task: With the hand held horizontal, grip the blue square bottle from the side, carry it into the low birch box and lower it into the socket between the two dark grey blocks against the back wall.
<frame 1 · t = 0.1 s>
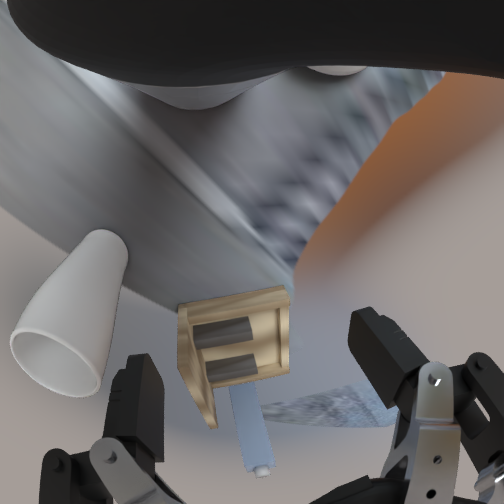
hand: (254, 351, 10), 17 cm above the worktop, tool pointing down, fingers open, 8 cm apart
flower in vase: (325, 32, 18), on the worktop
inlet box: (238, 337, 33), on the worktop
drinking glass: (105, 250, 25), on the worktop
blue square bottle: (242, 390, 40), on the worktop
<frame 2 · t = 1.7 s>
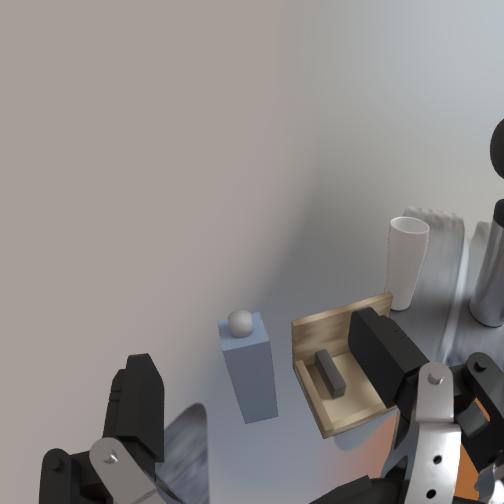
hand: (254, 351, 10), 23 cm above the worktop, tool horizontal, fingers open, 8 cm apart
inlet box: (356, 383, 30), on the worktop
drinking glass: (396, 303, 43), on the worktop
blue square bottle: (258, 407, 29), on the worktop
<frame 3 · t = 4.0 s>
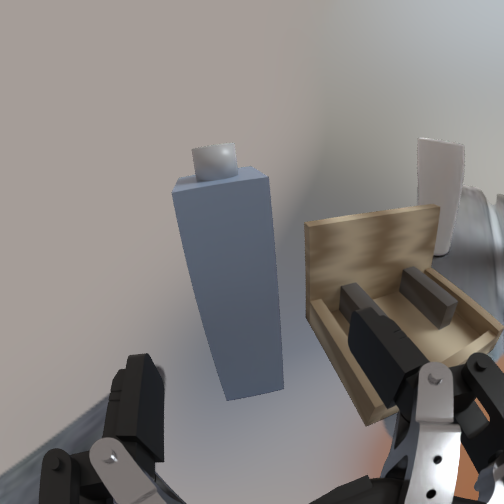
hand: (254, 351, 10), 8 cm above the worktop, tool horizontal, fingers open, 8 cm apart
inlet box: (405, 336, 19), on the worktop
drinking glass: (432, 250, 32), on the worktop
blue square bottle: (250, 374, 18), on the worktop
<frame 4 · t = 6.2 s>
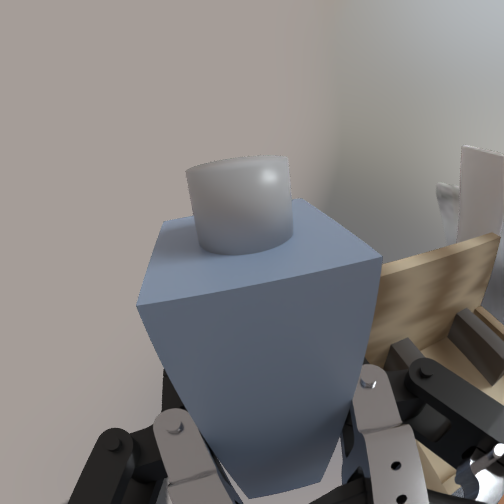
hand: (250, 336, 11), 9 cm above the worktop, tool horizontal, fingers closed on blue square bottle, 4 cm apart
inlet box: (456, 397, 12), on the worktop
drinking glass: (468, 274, 25), on the worktop
blue square bottle: (276, 464, 12), on the worktop, touching gripper
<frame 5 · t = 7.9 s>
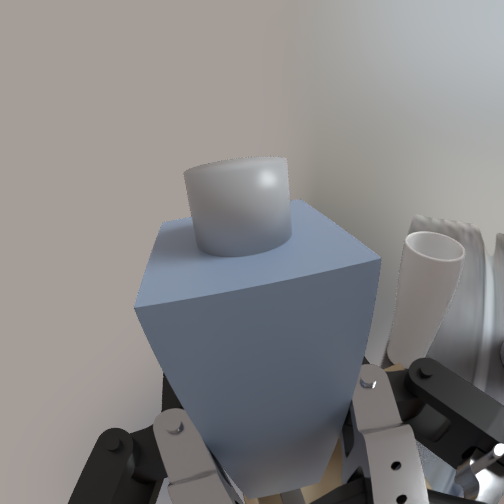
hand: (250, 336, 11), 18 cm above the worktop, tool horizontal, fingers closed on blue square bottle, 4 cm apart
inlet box: (331, 492, 15), on the worktop
drinking glass: (404, 356, 28), on the worktop
blue square bottle: (276, 464, 12), point 9 cm above the worktop, touching gripper
when the fingers open (10 cm above the worktop, at t = 10.0 s): blue square bottle stays where it is, resting on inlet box.
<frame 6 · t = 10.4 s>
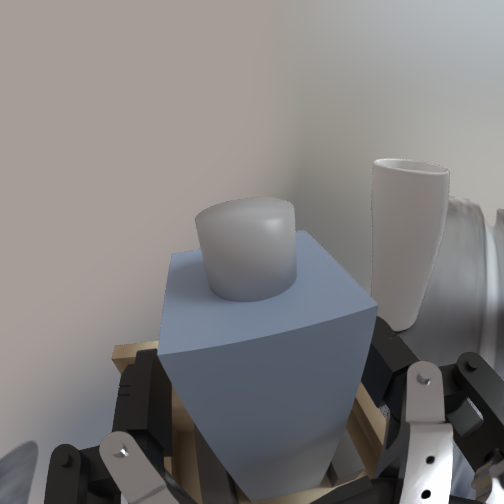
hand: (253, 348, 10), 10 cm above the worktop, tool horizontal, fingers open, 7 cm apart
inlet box: (281, 484, 12), on the worktop
drinking glass: (391, 318, 24), on the worktop
blue square bottle: (278, 468, 12), point 1 cm above the worktop, touching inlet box
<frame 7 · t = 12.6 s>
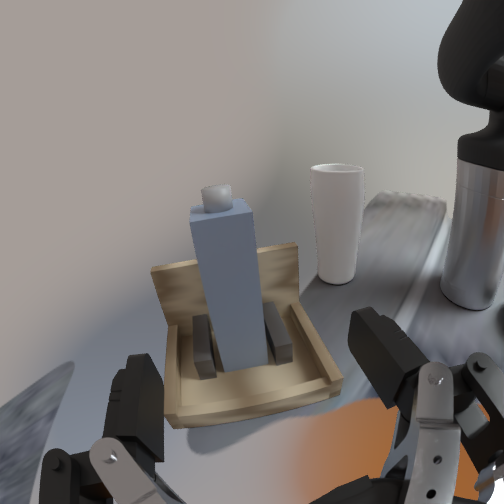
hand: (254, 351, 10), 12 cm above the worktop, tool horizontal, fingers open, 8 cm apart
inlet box: (245, 366, 24), on the worktop
drinking glass: (336, 277, 37), on the worktop
blue square bottle: (243, 353, 25), point 1 cm above the worktop, touching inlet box
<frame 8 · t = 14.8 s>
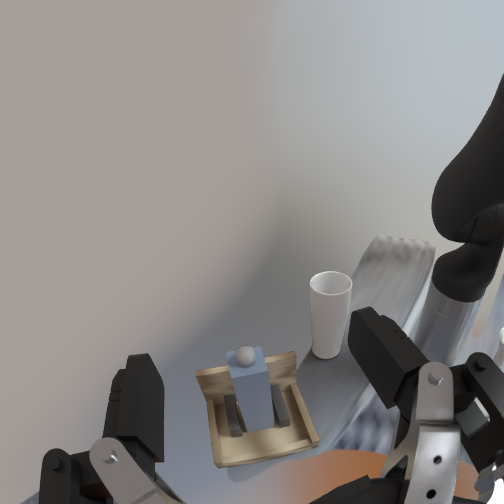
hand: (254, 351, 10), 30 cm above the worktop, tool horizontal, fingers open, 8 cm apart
flower in vase: (473, 400, 27), on the worktop
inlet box: (259, 426, 34), on the worktop
drinking glass: (325, 350, 46), on the worktop
blue square bottle: (258, 419, 34), point 1 cm above the worktop, touching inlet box
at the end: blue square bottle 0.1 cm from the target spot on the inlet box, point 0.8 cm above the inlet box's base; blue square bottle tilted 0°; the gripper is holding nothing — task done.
